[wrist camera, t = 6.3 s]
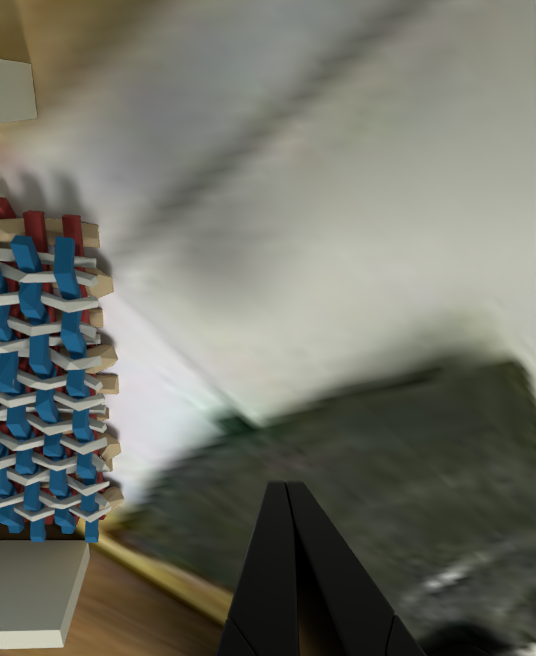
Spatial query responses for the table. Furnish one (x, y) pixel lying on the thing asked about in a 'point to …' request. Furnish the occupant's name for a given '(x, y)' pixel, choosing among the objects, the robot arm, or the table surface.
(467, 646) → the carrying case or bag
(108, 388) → the woven mat
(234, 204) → the table surface
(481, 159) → the table surface
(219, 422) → the table surface
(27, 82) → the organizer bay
